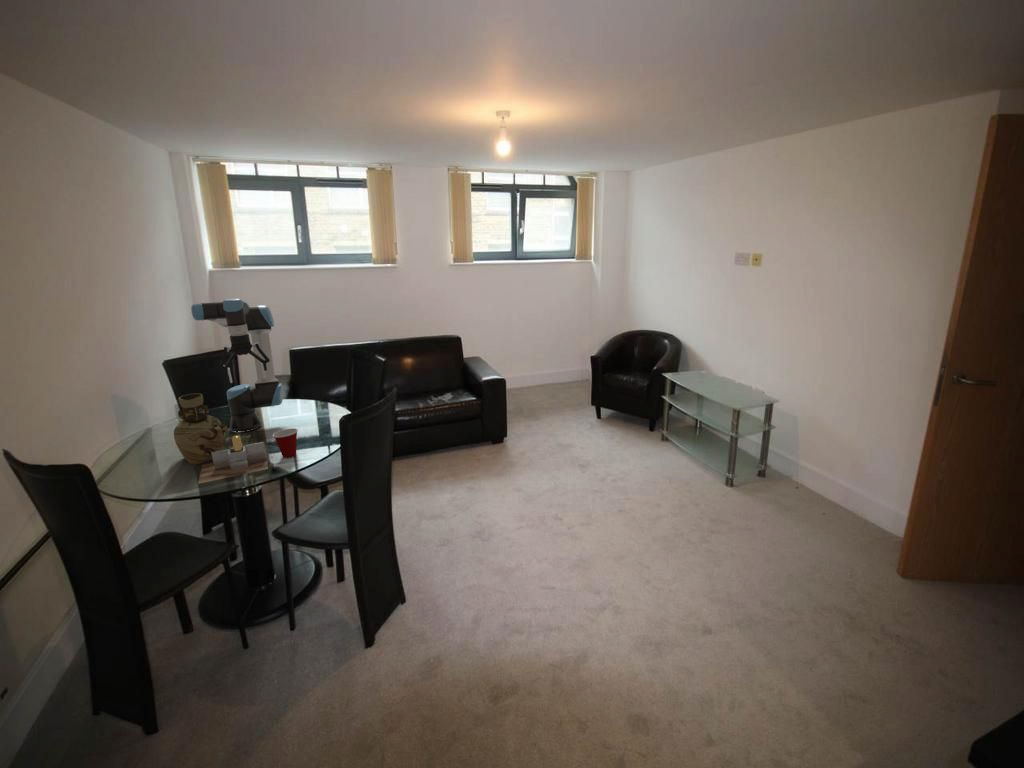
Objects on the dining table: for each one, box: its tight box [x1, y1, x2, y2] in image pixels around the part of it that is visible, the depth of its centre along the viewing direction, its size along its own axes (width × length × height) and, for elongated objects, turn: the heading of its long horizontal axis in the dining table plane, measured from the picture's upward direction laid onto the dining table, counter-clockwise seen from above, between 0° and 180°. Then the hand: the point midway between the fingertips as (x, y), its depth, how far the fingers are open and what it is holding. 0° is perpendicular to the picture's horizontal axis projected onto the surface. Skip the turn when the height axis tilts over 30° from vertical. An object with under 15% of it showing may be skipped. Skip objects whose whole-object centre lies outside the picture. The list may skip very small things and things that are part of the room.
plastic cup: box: [272, 427, 298, 459], centre depth 225 cm, size 11×11×12 cm
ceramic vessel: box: [173, 392, 229, 465], centre depth 223 cm, size 19×21×30 cm
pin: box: [231, 434, 243, 461], centre depth 212 cm, size 3×3×14 cm
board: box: [197, 451, 269, 485], centre depth 214 cm, size 20×26×1 cm
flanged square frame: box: [211, 445, 248, 469], centre depth 212 cm, size 7×13×8 cm, turn 118°
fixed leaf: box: [230, 441, 268, 471], centre depth 215 cm, size 7×14×8 cm, turn 118°
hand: (248, 380), depth 222 cm, fingers open, 13 cm apart
